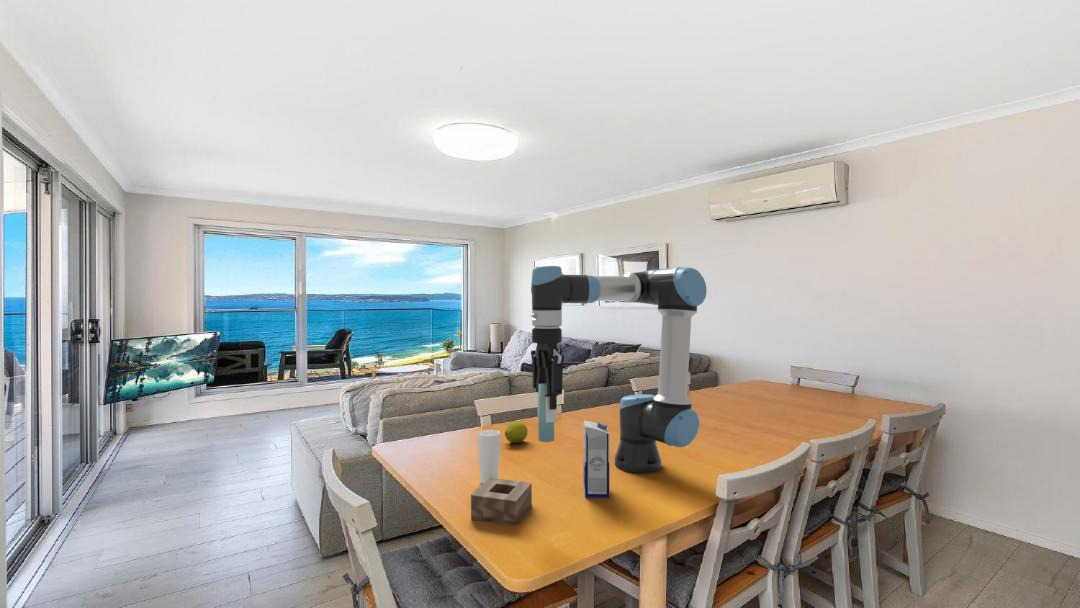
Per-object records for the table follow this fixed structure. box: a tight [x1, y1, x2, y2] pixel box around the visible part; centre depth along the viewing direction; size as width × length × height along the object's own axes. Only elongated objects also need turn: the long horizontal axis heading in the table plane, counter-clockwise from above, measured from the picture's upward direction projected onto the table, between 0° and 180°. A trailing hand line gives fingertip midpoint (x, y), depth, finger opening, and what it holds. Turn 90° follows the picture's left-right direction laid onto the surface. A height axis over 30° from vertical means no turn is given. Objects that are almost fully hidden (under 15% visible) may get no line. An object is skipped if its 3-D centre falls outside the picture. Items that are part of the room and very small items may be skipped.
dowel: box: [537, 383, 555, 443], centre depth 120 cm, size 4×4×14 cm
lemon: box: [504, 421, 529, 444], centre depth 181 cm, size 11×8×8 cm
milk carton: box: [583, 420, 610, 499], centre depth 135 cm, size 7×7×20 cm
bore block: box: [470, 478, 533, 527], centre depth 123 cm, size 12×12×6 cm
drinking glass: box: [477, 429, 502, 485], centre depth 142 cm, size 7×7×15 cm
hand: (546, 419), depth 120 cm, fingers closed on dowel, 4 cm apart
